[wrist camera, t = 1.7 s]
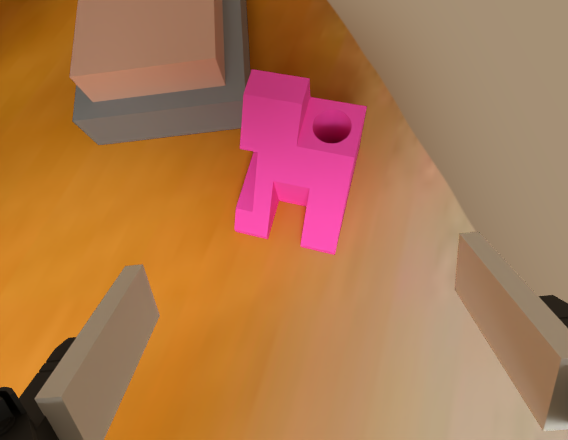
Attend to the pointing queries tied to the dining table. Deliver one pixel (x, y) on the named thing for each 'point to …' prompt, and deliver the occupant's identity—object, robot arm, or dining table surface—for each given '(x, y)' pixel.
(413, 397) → the dining table surface
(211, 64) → the two-tone base plate
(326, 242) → the bracket
